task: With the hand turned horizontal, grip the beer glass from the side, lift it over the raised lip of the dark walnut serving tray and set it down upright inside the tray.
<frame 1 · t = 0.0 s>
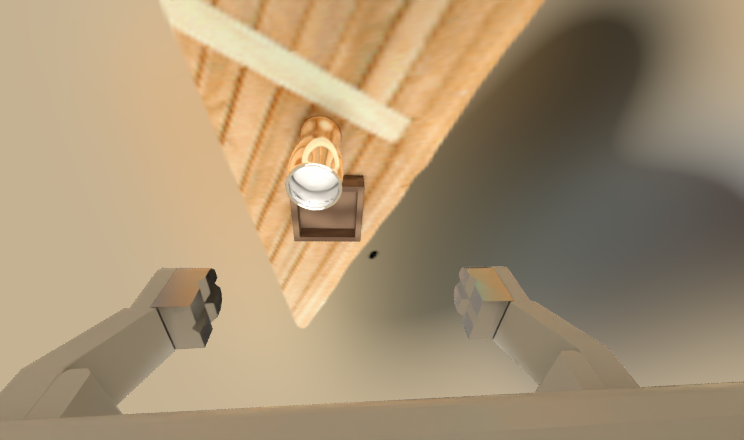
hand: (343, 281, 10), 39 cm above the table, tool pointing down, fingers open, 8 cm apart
walnut tray: (328, 203, 56), on the table
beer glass: (320, 134, 48), on the table
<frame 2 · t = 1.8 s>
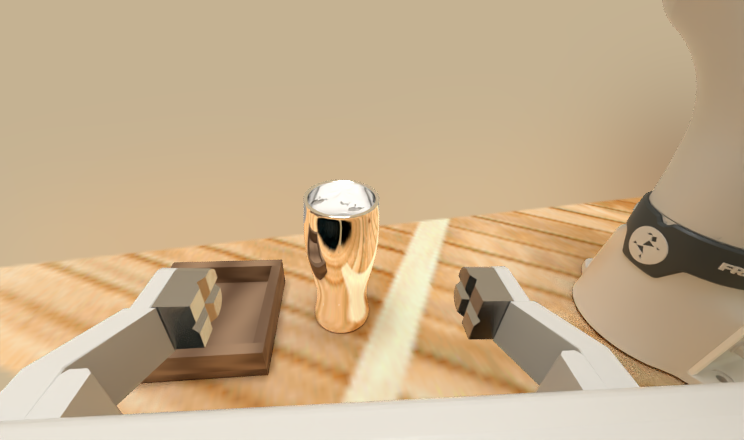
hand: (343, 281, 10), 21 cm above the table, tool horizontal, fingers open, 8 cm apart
walnut tray: (219, 323, 33), on the table
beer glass: (342, 311, 35), on the table
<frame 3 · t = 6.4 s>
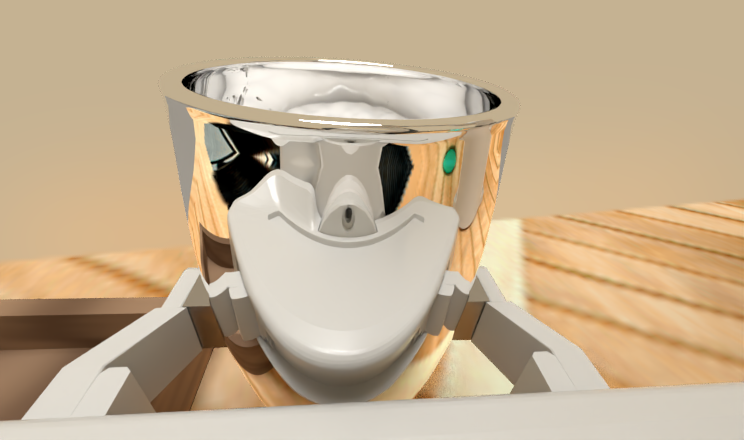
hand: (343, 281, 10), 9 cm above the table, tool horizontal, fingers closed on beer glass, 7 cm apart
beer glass: (338, 430, 14), on the table, touching gripper
when the fingers open (10 cm above the table, at t = 11.7 s): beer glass stays where it is, resting on walnut tray.
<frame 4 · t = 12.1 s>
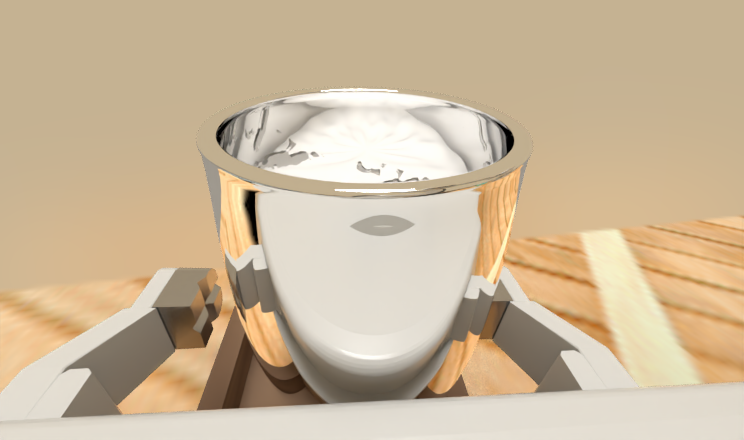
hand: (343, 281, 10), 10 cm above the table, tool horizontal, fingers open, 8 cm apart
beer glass: (362, 433, 15), point 1 cm above the table, touching gripper, walnut tray
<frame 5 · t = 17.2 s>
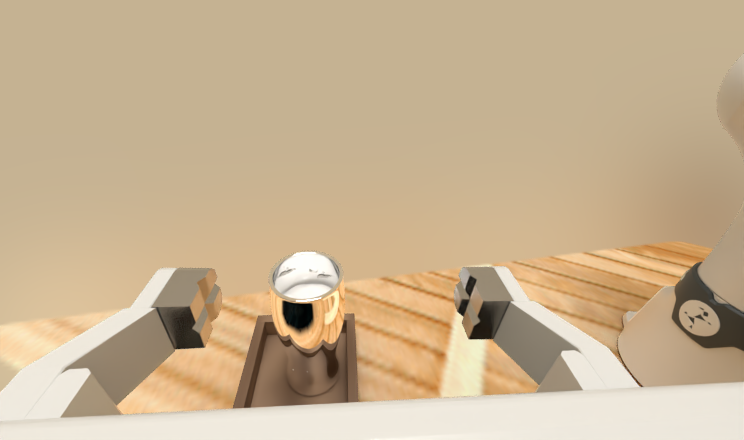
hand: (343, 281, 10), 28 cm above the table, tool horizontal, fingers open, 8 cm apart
walnut tray: (303, 375, 36), on the table
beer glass: (313, 370, 36), point 1 cm above the table, touching walnut tray
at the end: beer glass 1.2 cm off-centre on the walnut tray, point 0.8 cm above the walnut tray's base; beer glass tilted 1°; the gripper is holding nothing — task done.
